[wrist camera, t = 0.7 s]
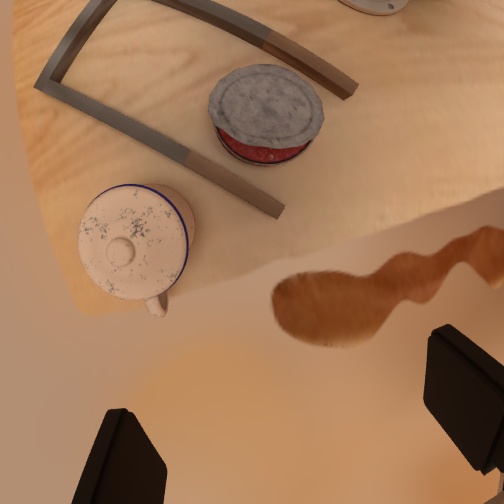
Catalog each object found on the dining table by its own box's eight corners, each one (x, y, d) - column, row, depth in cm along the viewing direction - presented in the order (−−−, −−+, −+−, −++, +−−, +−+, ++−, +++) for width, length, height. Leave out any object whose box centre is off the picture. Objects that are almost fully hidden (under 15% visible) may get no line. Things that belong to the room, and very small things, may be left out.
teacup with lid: (103, 192, 30) (47, 204, 19) (187, 172, 31) (167, 171, 19) (131, 301, 33) (95, 357, 22) (211, 287, 34) (207, 342, 22)
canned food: (212, 133, 34) (166, 92, 25) (279, 75, 32) (251, 20, 23) (276, 204, 32) (241, 176, 22) (351, 139, 30) (346, 87, 20)
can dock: (122, -21, 24) (116, -31, 22) (350, 89, 30) (359, 84, 27) (44, 91, 27) (33, 87, 24) (273, 216, 32) (277, 219, 30)
